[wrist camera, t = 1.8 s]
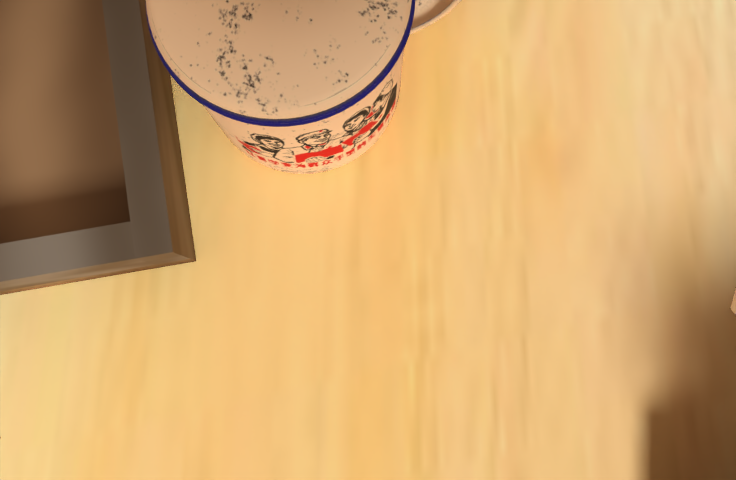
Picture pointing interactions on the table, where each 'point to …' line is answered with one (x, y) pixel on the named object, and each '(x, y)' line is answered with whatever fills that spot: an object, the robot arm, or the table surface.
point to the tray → (86, 146)
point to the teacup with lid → (292, 70)
